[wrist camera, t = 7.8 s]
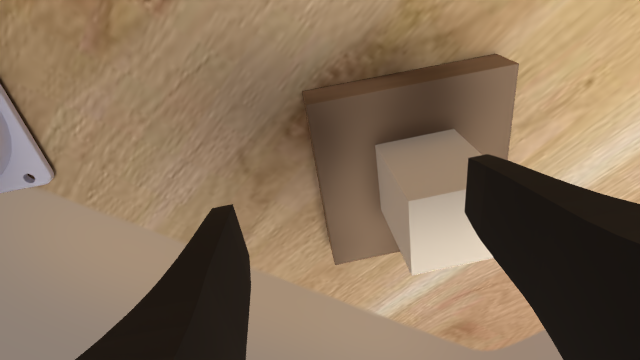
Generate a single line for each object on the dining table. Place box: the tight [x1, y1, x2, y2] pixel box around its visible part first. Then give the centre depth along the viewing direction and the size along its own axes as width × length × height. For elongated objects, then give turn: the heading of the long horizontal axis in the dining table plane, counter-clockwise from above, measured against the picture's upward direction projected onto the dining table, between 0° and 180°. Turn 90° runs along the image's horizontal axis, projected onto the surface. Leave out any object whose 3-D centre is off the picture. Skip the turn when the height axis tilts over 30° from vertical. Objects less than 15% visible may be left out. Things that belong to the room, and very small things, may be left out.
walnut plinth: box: [302, 54, 519, 265], centre depth 21 cm, size 10×10×2 cm
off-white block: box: [375, 129, 494, 275], centre depth 18 cm, size 4×4×5 cm
